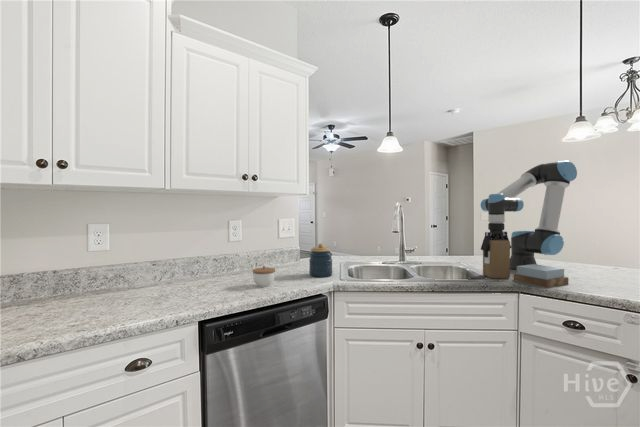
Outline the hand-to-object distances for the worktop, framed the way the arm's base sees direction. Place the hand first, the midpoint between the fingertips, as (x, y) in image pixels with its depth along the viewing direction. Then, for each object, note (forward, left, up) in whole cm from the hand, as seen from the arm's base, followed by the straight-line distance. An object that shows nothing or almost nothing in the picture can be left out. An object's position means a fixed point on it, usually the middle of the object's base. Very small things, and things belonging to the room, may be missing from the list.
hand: (496, 262), depth 164 cm
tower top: (-9, +17, -4) cm, 20 cm away
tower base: (-9, +17, -8) cm, 21 cm away
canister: (+85, -41, -8) cm, 95 cm away
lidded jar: (+119, -30, -8) cm, 123 cm away
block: (0, 0, -8) cm, 8 cm away
